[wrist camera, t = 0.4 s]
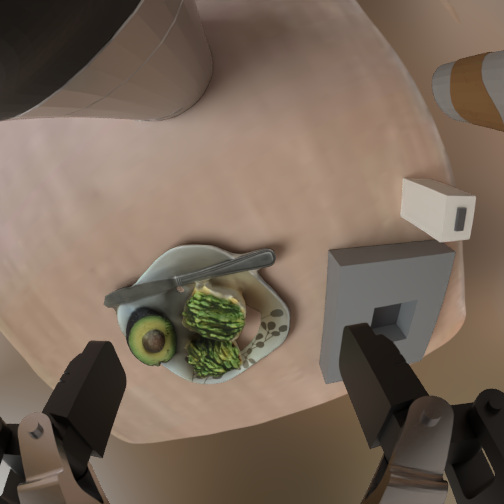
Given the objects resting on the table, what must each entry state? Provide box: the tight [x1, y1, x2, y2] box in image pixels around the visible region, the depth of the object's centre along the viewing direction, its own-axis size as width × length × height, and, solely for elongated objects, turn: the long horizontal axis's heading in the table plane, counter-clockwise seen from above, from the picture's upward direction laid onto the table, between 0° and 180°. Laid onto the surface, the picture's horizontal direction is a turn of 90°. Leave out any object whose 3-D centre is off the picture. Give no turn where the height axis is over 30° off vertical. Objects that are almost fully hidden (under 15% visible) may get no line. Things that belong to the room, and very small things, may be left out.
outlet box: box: [319, 240, 456, 384], centre depth 29 cm, size 16×14×4 cm
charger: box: [400, 178, 476, 242], centre depth 22 cm, size 4×4×7 cm
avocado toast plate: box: [104, 244, 291, 384], centre depth 27 cm, size 19×18×5 cm
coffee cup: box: [432, 50, 504, 132], centre depth 13 cm, size 8×8×15 cm
